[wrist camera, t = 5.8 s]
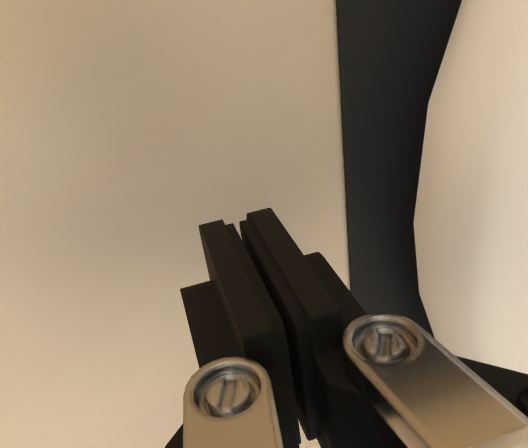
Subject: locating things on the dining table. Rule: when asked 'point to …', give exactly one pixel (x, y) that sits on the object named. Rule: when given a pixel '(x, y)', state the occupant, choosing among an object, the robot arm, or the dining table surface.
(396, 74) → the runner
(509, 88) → the plate
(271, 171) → the dining table surface
